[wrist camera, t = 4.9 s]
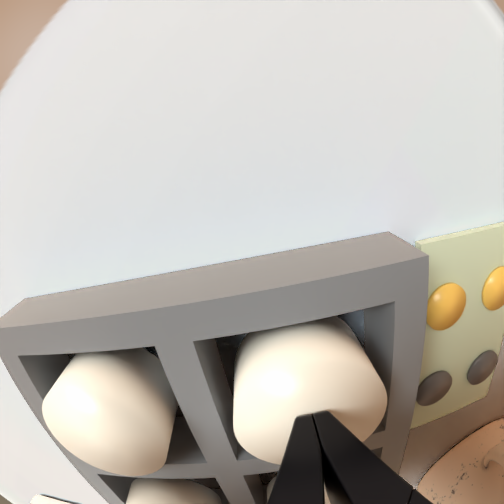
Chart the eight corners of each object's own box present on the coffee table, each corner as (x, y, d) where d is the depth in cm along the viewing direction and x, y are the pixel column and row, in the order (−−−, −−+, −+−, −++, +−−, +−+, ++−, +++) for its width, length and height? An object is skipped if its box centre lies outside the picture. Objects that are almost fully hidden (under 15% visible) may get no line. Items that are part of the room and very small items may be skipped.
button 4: (193, 422, 10) (185, 477, 8) (101, 423, 10) (81, 470, 8) (157, 332, 9) (133, 386, 7) (56, 342, 9) (20, 385, 7)
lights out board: (467, 432, 13) (485, 460, 11) (144, 496, 13) (137, 529, 11) (511, 207, 9) (556, 221, 7) (24, 298, 10) (-13, 329, 7)
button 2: (358, 394, 10) (381, 446, 8) (248, 416, 10) (249, 473, 8) (356, 296, 9) (392, 342, 6) (221, 322, 9) (215, 379, 7)
